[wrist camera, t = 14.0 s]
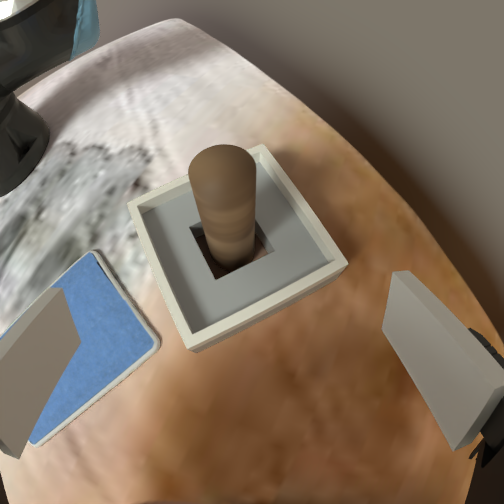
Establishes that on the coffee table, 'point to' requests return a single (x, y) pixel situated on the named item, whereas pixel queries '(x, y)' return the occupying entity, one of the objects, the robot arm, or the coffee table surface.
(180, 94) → the coffee table surface
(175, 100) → the coffee table surface
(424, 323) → the robot arm
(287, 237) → the tray
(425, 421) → the coffee table surface
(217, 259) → the peg
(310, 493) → the coffee table surface
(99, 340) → the blue rectangular panel
